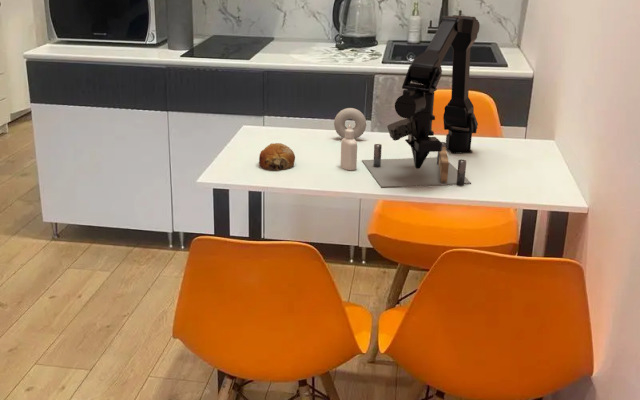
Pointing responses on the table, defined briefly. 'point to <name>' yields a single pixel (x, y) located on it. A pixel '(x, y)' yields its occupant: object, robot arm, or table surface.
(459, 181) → the gate posts
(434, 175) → the mat
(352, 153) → the eye dropper bottle
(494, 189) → the table surface
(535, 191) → the table surface
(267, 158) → the bread roll
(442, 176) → the gate
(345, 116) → the donut
